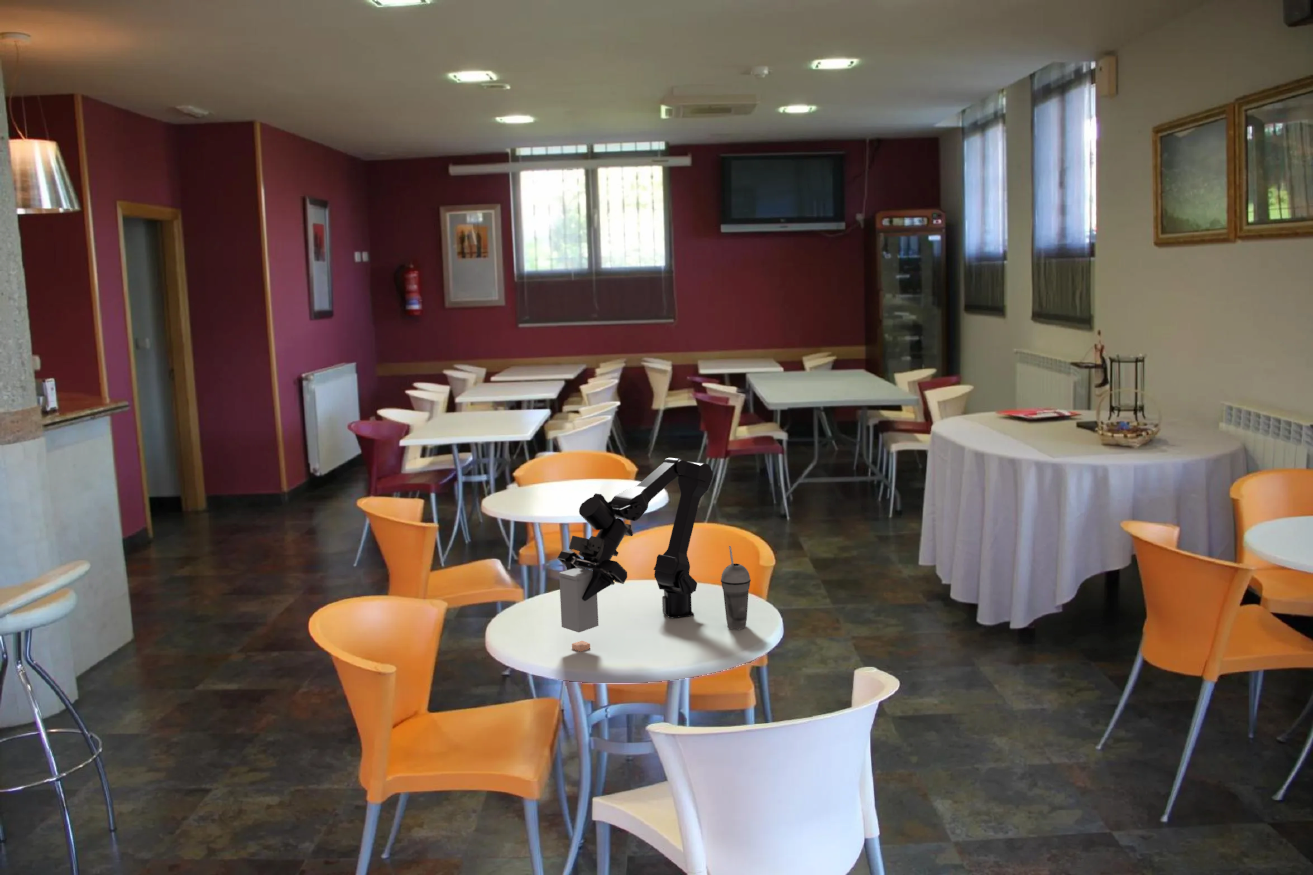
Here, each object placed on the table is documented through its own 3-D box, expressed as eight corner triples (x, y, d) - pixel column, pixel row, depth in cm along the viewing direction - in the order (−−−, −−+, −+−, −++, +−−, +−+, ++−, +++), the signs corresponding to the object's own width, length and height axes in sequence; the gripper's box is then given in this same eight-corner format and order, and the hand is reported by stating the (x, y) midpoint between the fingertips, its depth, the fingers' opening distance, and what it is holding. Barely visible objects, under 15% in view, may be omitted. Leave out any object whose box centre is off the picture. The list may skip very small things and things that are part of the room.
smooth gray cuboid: (581, 620, 254) (578, 566, 252) (598, 625, 250) (596, 571, 248) (561, 627, 250) (559, 572, 248) (579, 632, 246) (576, 577, 244)
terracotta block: (582, 646, 253) (582, 640, 252) (590, 649, 250) (590, 643, 250) (572, 649, 251) (571, 643, 250) (579, 652, 248) (579, 646, 248)
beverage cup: (749, 631, 258) (748, 550, 256) (719, 630, 260) (717, 549, 257) (753, 622, 266) (751, 542, 263) (723, 621, 267) (722, 542, 264)
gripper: (561, 516, 256) (527, 572, 249) (616, 527, 243) (582, 585, 236) (587, 542, 262) (555, 597, 256) (642, 554, 249) (609, 611, 243)
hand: (574, 597), depth 248 cm, fingers closed on smooth gray cuboid, 6 cm apart
